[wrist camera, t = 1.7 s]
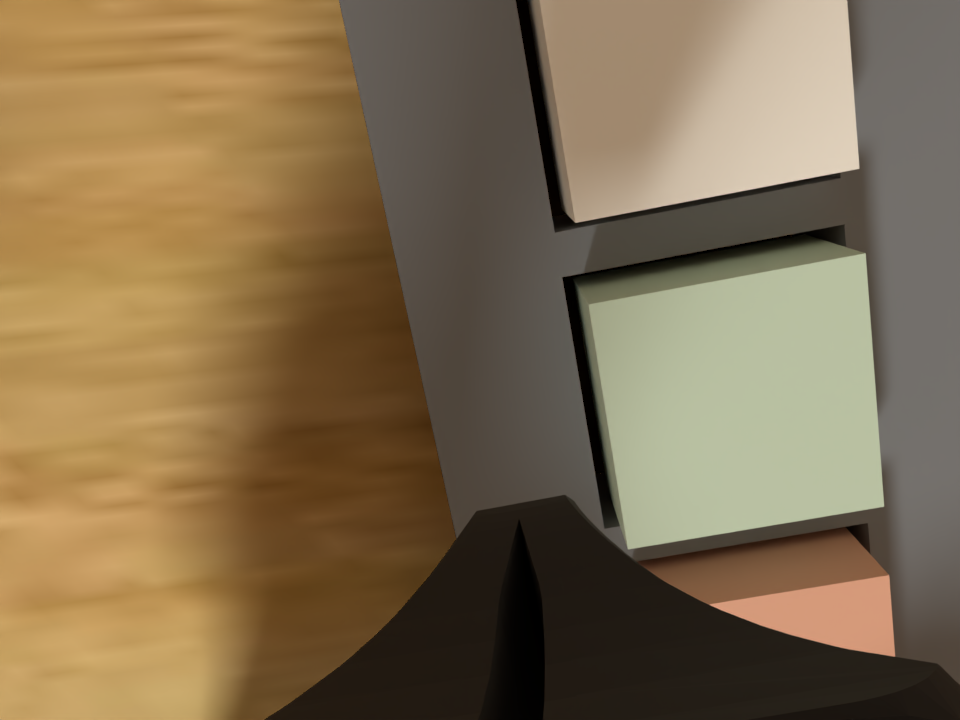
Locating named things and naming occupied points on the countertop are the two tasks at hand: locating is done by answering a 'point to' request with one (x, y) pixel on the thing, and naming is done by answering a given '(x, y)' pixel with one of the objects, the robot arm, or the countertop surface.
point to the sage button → (733, 388)
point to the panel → (655, 235)
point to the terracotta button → (793, 587)
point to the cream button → (691, 98)
